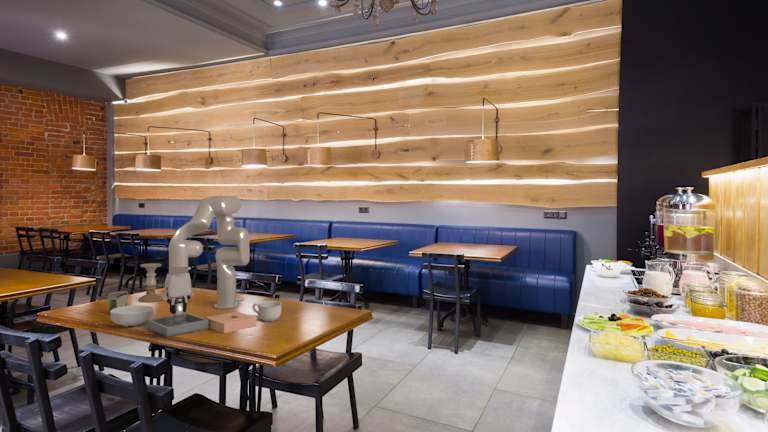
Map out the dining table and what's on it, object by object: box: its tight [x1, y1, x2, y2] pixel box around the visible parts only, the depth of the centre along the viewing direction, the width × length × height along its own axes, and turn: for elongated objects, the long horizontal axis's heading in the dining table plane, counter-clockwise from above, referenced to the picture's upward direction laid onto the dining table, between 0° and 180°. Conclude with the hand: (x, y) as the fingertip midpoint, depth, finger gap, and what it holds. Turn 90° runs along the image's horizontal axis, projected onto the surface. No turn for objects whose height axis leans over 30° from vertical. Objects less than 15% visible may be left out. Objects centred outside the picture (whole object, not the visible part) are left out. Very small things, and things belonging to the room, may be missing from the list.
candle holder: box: [138, 262, 163, 303], centre depth 251 cm, size 12×12×20 cm
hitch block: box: [204, 310, 258, 334], centre depth 201 cm, size 16×16×4 cm
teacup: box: [251, 300, 282, 322], centre depth 214 cm, size 14×11×8 cm
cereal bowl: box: [109, 304, 154, 328], centre depth 201 cm, size 17×17×7 cm
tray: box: [146, 312, 209, 339], centre depth 195 cm, size 18×18×4 cm
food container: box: [107, 290, 129, 312], centre depth 220 cm, size 12×6×10 cm, turn 5°
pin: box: [172, 297, 184, 324], centre depth 194 cm, size 4×4×11 cm
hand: (178, 312), depth 195 cm, fingers closed on pin, 4 cm apart
